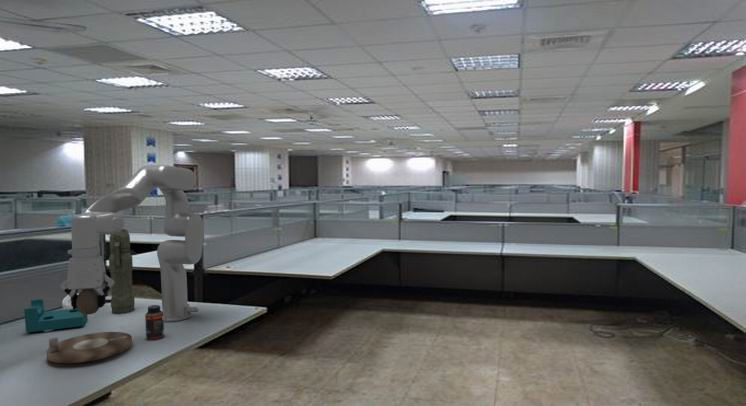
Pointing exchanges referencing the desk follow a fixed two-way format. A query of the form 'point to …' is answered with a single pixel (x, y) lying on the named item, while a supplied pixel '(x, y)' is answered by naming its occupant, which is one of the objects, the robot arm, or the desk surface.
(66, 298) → the motion sensor
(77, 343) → the disc
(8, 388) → the desk surface
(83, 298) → the vase
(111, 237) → the thermos
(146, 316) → the supplement bottle
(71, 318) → the teal l-shaped bracket
